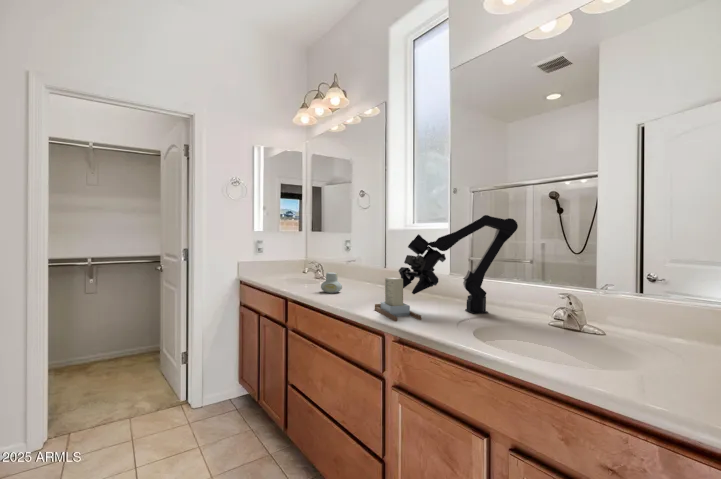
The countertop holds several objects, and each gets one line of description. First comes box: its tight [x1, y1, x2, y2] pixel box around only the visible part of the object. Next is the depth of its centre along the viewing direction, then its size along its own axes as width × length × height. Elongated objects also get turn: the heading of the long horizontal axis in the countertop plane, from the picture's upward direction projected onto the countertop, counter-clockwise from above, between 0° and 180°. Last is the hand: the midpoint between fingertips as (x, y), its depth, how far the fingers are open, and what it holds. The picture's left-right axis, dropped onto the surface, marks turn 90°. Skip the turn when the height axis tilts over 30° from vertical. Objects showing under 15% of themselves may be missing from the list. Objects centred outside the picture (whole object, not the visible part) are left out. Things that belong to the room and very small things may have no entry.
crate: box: [380, 301, 411, 317], centre depth 130 cm, size 8×10×4 cm
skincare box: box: [384, 277, 404, 306], centre depth 130 cm, size 6×4×12 cm
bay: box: [374, 303, 422, 322], centre depth 129 cm, size 10×20×2 cm, turn 18°
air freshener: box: [320, 272, 343, 294], centre depth 180 cm, size 11×8×10 cm
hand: (405, 291), depth 133 cm, fingers open, 9 cm apart
